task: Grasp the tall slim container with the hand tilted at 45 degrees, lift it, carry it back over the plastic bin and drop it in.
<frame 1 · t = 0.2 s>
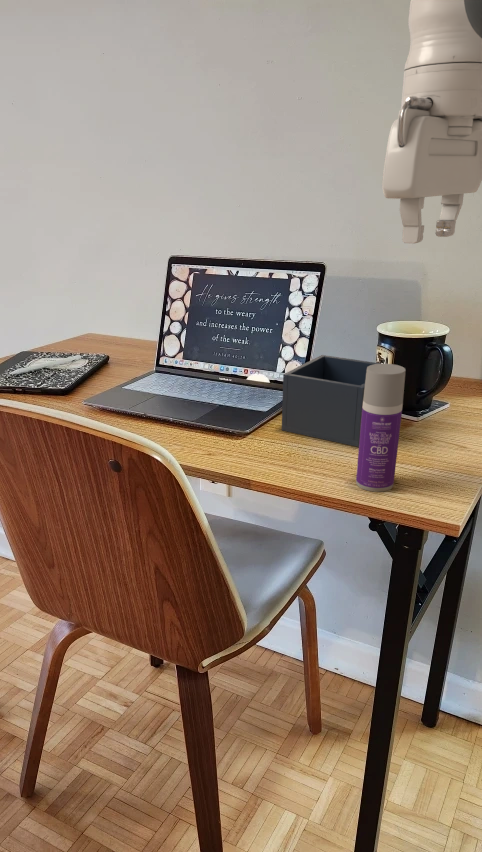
hand: (429, 239, 79), 29 cm above the table, tool pointing down, fingers open, 8 cm apart
bin: (337, 425, 106), on the table
container: (374, 485, 88), on the table
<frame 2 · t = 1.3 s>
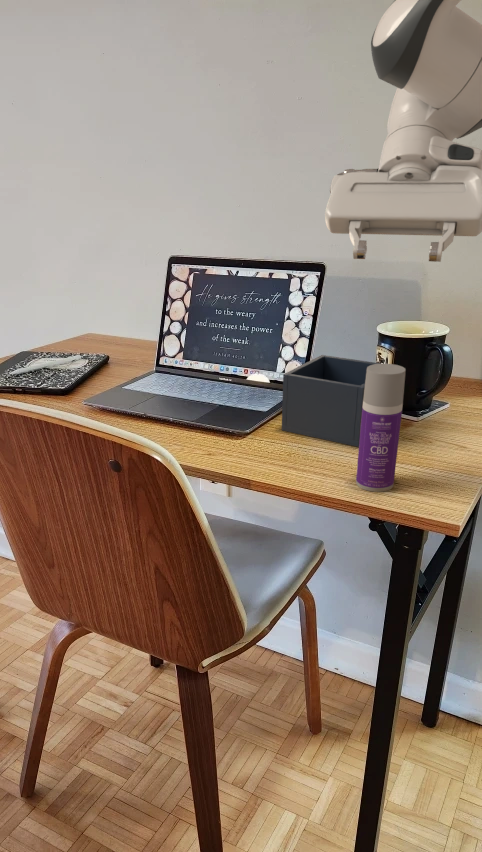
hand: (396, 257, 88), 26 cm above the table, tool tilted 45°, fingers open, 8 cm apart
nothing on the table moved.
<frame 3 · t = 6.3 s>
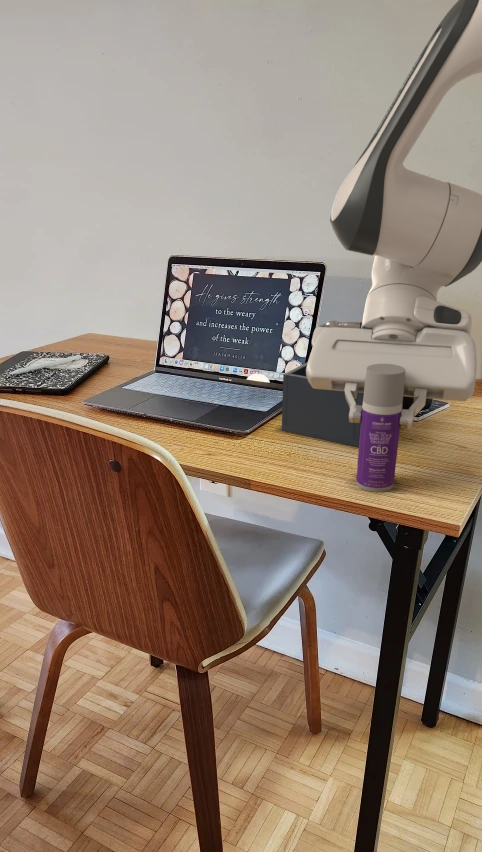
hand: (380, 423, 83), 8 cm above the table, tool tilted 45°, fingers closed on container, 4 cm apart
container: (374, 485, 88), on the table, touching gripper
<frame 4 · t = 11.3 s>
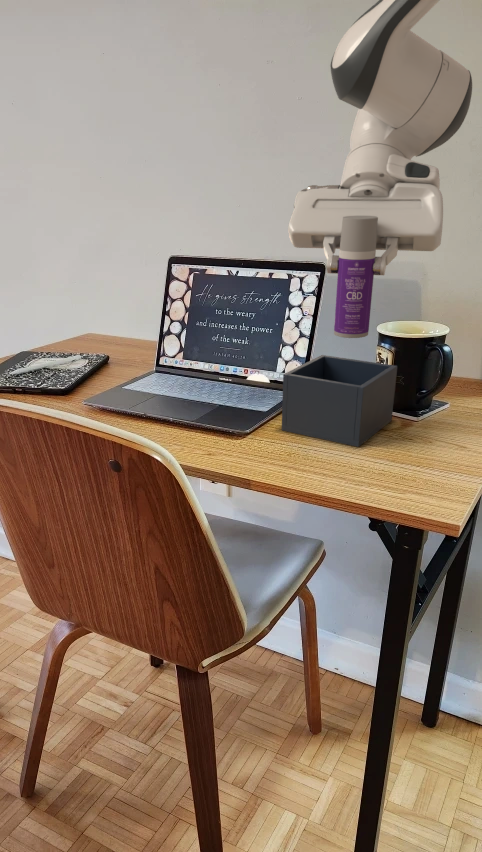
hand: (355, 271, 91), 24 cm above the table, tool tilted 45°, fingers closed on container, 4 cm apart
container: (350, 335, 95), point 15 cm above the table, touching gripper
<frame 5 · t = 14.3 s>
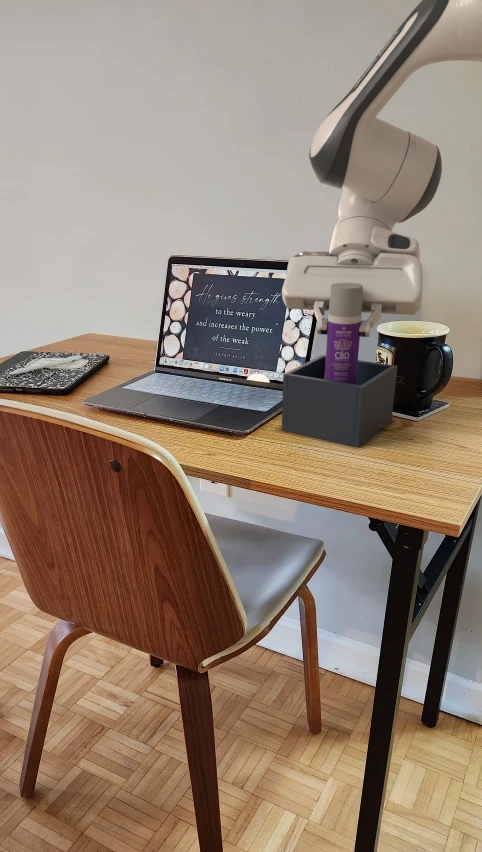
hand: (343, 333, 99), 14 cm above the table, tool tilted 45°, fingers closed on container, 4 cm apart
container: (339, 389, 104), point 6 cm above the table, touching gripper
when the fingers open (9 cm above the table, at t = 16.3 s): container stays where it is, resting on bin.
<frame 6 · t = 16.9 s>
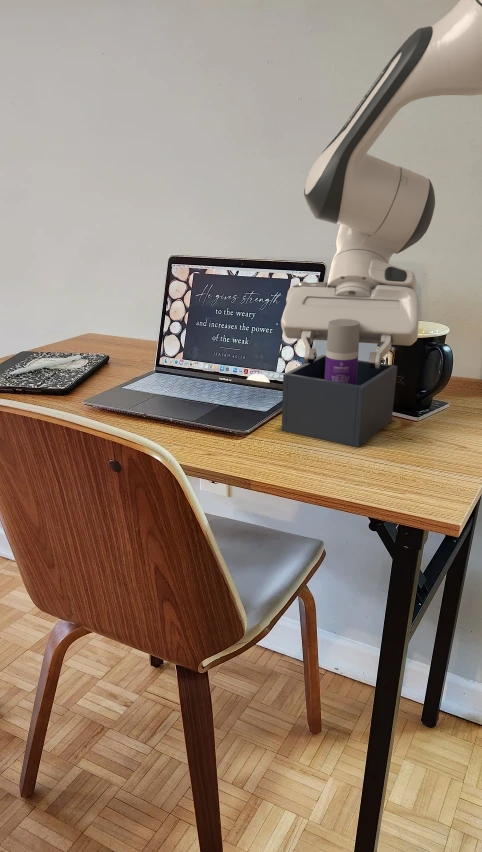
hand: (341, 364, 101), 10 cm above the table, tool tilted 45°, fingers open, 8 cm apart
container: (337, 421, 106), point 1 cm above the table, touching bin
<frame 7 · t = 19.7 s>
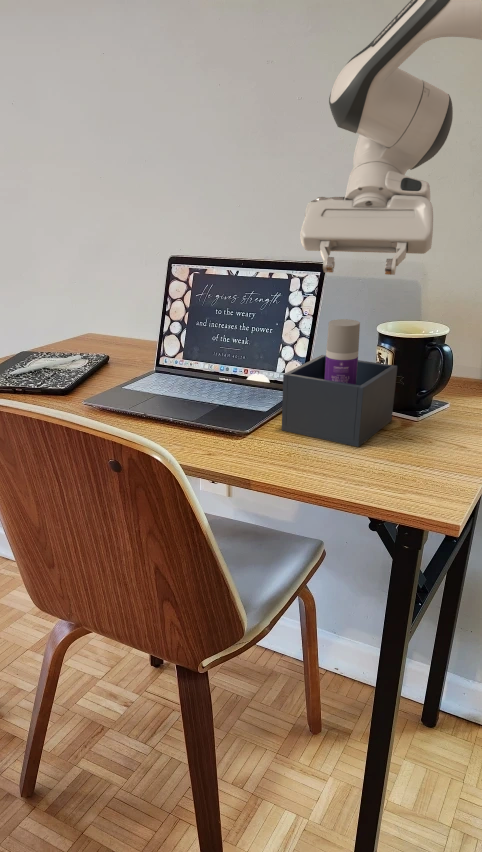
hand: (358, 271, 106), 21 cm above the table, tool tilted 45°, fingers open, 8 cm apart
nothing on the table moved.
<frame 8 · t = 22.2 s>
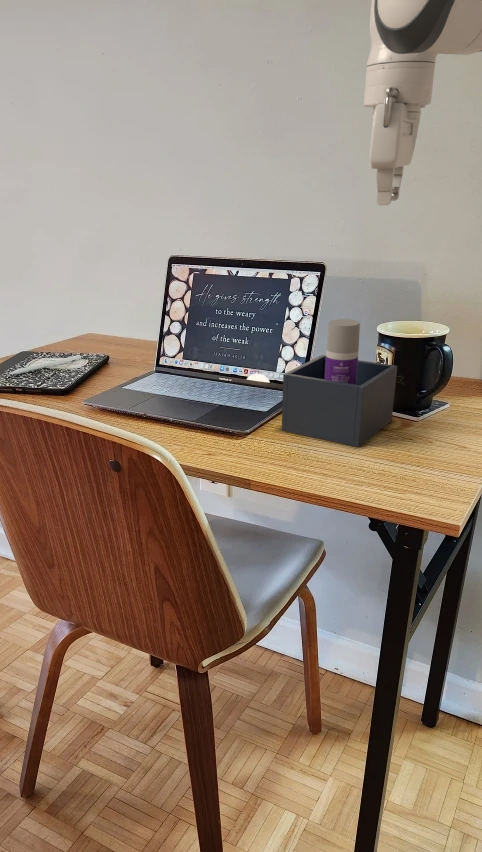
hand: (388, 202, 99), 31 cm above the table, tool pointing down, fingers open, 8 cm apart
nothing on the table moved.
at the end: container inside the target area in the bin (0.0 cm from its centre), point 0.6 cm above the bin's base; the gripper is holding nothing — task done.
